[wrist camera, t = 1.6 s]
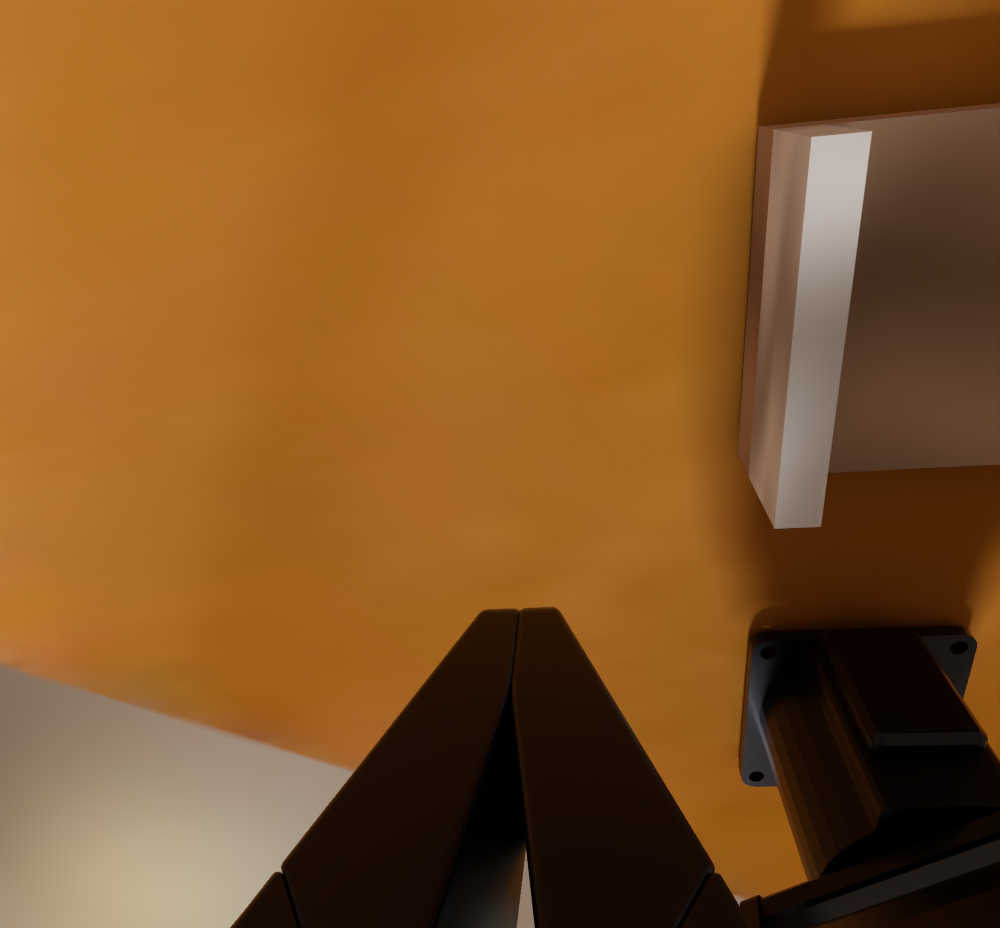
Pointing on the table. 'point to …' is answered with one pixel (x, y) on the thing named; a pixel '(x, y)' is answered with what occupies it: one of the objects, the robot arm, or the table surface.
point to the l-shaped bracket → (871, 302)
